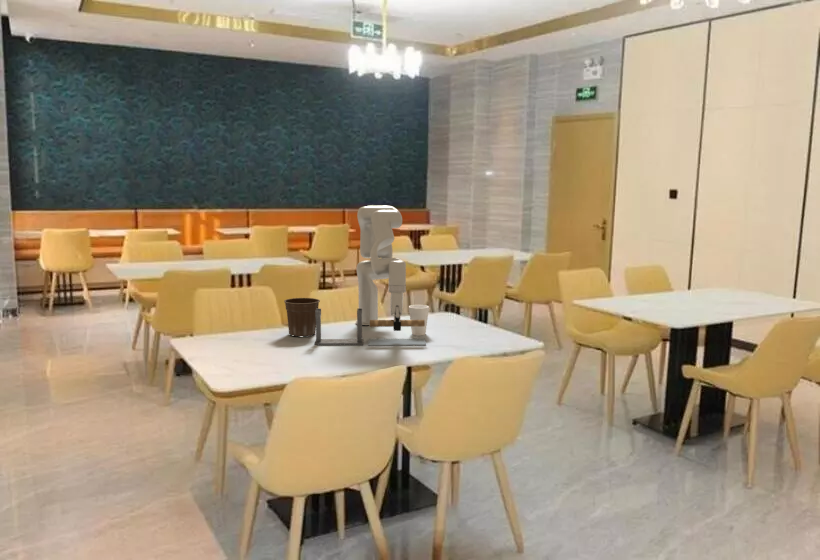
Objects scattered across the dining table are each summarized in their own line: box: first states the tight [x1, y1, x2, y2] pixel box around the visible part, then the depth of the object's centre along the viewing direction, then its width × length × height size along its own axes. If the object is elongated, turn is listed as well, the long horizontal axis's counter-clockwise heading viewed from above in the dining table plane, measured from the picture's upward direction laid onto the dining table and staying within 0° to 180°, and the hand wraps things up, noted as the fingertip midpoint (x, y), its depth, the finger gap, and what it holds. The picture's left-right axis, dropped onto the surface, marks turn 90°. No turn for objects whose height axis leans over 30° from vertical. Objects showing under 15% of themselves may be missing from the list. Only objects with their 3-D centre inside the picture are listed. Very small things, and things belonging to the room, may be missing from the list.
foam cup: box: [408, 304, 430, 336], centre depth 333 cm, size 10×9×13 cm
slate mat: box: [368, 338, 427, 347], centre depth 315 cm, size 11×25×1 cm, turn 92°
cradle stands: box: [314, 307, 364, 346], centre depth 313 cm, size 8×21×15 cm, turn 92°
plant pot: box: [284, 297, 321, 337], centre depth 330 cm, size 16×16×16 cm
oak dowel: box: [369, 319, 425, 328], centre depth 314 cm, size 24×3×3 cm, turn 92°
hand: (397, 329), depth 315 cm, fingers closed on oak dowel, 3 cm apart
